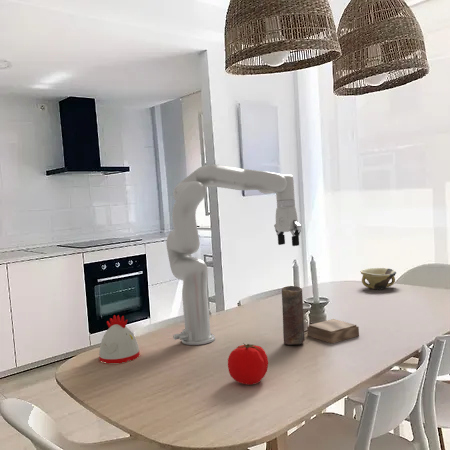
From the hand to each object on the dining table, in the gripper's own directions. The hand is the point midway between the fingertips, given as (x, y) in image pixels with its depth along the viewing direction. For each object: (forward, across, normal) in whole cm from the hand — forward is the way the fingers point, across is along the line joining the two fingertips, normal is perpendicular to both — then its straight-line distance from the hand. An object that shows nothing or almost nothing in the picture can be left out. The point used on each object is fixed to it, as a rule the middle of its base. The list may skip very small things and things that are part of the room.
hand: (288, 245), depth 206 cm
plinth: (+31, +30, -5) cm, 44 cm away
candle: (+31, +28, -21) cm, 47 cm away
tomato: (+32, +47, -52) cm, 77 cm away
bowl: (+32, -16, +68) cm, 77 cm away
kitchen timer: (+32, -2, -75) cm, 81 cm away
